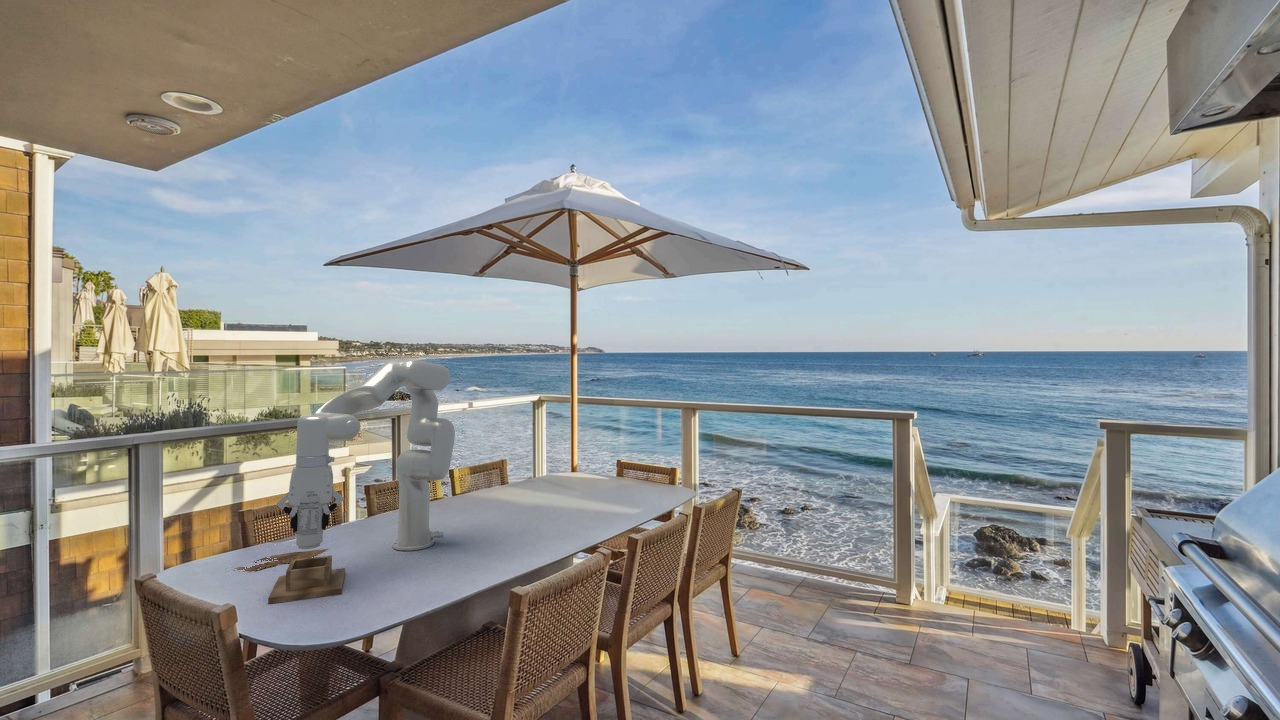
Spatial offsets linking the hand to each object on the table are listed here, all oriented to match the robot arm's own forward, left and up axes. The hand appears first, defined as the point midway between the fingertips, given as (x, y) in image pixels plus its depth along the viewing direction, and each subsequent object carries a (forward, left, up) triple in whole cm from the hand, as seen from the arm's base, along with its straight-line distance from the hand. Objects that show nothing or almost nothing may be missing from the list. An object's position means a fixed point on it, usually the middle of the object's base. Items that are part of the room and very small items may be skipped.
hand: (310, 529), depth 149 cm
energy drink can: (0, 0, -5) cm, 5 cm away
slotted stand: (0, 0, -16) cm, 16 cm away
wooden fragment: (+9, -28, -16) cm, 34 cm away
